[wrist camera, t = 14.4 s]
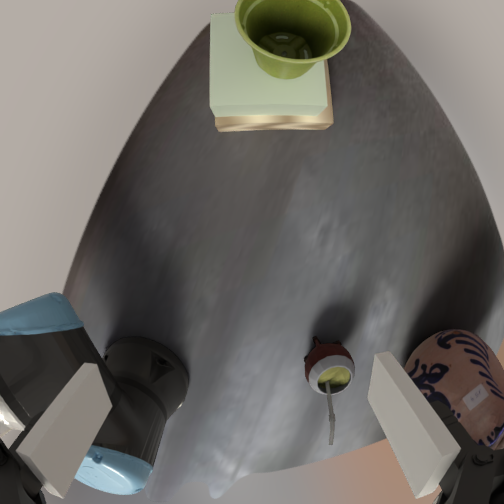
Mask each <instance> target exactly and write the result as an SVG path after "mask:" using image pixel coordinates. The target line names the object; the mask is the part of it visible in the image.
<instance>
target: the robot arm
mask: <svg viewBox="0 0 504 504" xmlns="http://www.w3.org/2000/svg"><path fill="white" fill-rule="evenodd" d="M83 326H84V323H83V322H82V321H80V320H79V318H78V316H77V315H76V313H75V311H74V309H73V308H72V306H71V304H70V302H69V301H68V299H67V298H66V297H65V296H64V295H62V294H60V293H55V292H53V293H49V294H46V295H43V296H40V297H38V298H35V299H32V300H30V301H27V302H25V303H22V304H19V305H17V306H14V307H12V308H9V309H7V310H5V311H2V312H0V504H46V501H45V498H44V494H43V493H42V491H41V490H40V489H41V487H42V486H44V487H45V488H46V489H47V490H48V491H49V493H51V494H53V495H56V496H58V497H61V498H64V497H65V495H66V493H67V491H68V489H69V487H70V485H71V483H72V481H73V479H74V478H75V479H77V480H79V481H80V482H82V483H84V484H86V485H89V486H91V487H93V488H96V489H98V490H101V491H105V492H108V493H113V494H121V495H128V494H135V493H137V492H139V491H141V490H142V489H143V488H144V487H145V485H146V483H147V480H148V478H149V475H150V474H151V472H152V471H153V466H154V462H155V458H156V455H157V451H158V448H159V444H160V441H161V438H162V434H163V431H164V427H165V424H166V421H167V420H168V418H169V417H170V416H171V415H172V414H173V413H174V412H175V411H176V410H177V409H178V408H179V407H180V406H181V405H182V403H183V402H184V400H185V397H186V394H187V391H188V385H189V381H188V375H187V372H186V370H185V368H184V366H183V364H182V363H181V361H180V360H179V359H178V358H177V356H176V355H175V354H174V353H172V352H171V351H170V350H169V349H167V348H166V347H165V346H163V345H161V344H159V343H157V342H155V341H153V340H150V339H146V338H142V337H126V338H122V339H120V340H118V341H116V342H114V343H113V344H112V345H111V346H110V347H109V349H108V350H107V351H106V352H105V354H104V356H103V358H101V356H100V354H99V353H98V351H97V349H96V348H95V346H94V344H93V343H92V341H91V339H90V337H89V336H88V334H87V332H86V330H85V329H84V327H83ZM367 399H368V401H369V403H370V405H371V407H372V409H373V411H374V413H375V415H376V417H377V419H378V421H379V423H380V425H381V427H382V429H383V431H384V433H385V435H386V437H387V439H388V441H389V443H390V445H391V447H392V449H393V451H394V453H395V455H396V457H397V460H398V462H399V464H400V466H401V468H402V470H403V472H404V474H405V476H406V479H407V481H408V483H409V485H410V487H411V489H412V492H413V494H414V496H415V498H416V499H417V498H420V497H422V496H425V495H428V494H430V493H432V492H434V490H435V489H436V488H437V486H438V485H440V486H441V489H442V491H441V492H440V494H439V495H438V496H437V498H436V499H435V501H434V502H433V504H435V503H436V502H437V503H436V504H504V448H503V449H498V450H493V449H491V448H490V447H488V446H485V445H477V444H476V443H475V441H474V440H473V439H472V437H471V436H470V435H469V433H468V432H467V431H466V429H465V428H464V427H463V426H462V424H461V423H460V422H458V419H457V418H456V416H454V414H453V413H452V411H451V410H450V409H449V407H448V406H446V405H445V404H443V403H442V402H440V401H438V400H437V401H434V402H431V403H428V401H427V400H426V398H425V397H424V396H423V394H422V393H421V392H420V390H419V389H418V388H417V386H416V385H415V384H414V382H413V381H412V380H411V378H410V377H409V376H408V374H407V373H406V372H405V371H404V369H403V368H402V367H401V365H400V364H399V363H398V361H397V360H396V359H395V358H394V356H393V355H392V354H391V352H390V351H388V352H382V353H377V354H375V357H374V363H373V370H372V375H371V381H370V387H369V392H368V397H367ZM12 429H18V430H21V431H22V432H21V433H20V435H19V436H18V438H17V439H16V440H15V441H14V443H13V444H12V445H11V447H10V448H9V449H8V448H7V447H6V446H5V444H4V443H3V441H2V440H1V437H2V436H4V435H5V434H6V433H8V432H9V431H11V430H12Z"/></svg>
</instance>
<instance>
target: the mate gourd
mask: <svg viewBox="0 0 504 504" xmlns="http://www.w3.org/2000/svg"><path fill="white" fill-rule="evenodd" d="M312 339H313V341H314V343H315V345H316V347H315V348H314V349H313V350H312V351H311V352H310V353H309V355H308V356H307V357H305V358H304V362H305V377H306V379H307V381H308V382H309V384H310V386H311V387H312V388H313V389H314V390H315V391H317V392H319V393H321V394H326V395H327V399H328V406H329V414H330V415H329V422H330V438H329V445H333V439H334V426H335V423H334V421H335V414H334V413H333V406H332V399H331V395H333V394H338V393H340V392H342V391H344V390H345V389H346V388H347V387H348V386H349V385H350V383H351V381H352V380H353V378H354V374H355V366H354V362H353V359H352V357H351V355H350V353H349V352H348V351H347V350H346V349H345V348H344V347H343V346H341V342H340V341H339V340H338V341H336V342H334V343H326V344H321V343H320V341H319V339H318V337H317V336H315V337H313V338H312Z"/></svg>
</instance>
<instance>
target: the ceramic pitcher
mask: <svg viewBox="0 0 504 504" xmlns="http://www.w3.org/2000/svg"><path fill="white" fill-rule="evenodd" d="M404 371H405V372H406V373H407V374H408V376H409V377H410V378H411V380H412V381H413V382H414V384H415V385H416V386H417V388H418V389H419V390H420V392H421V393H422V394H423V396H424V397H425V398H426V400H427V401H428V403H431V402H434V401H437V400H438V401H440V402H442V403H443V404H445V405H446V406H448V407H449V409H450V410H451V411H452V413H453V414H454V416H456V418H457V419H458V422H460V423H461V424H462V426H463V427H464V428H465V429H466V431H467V432H468V433H469V435H470V436H471V437H472V439H473V440H474V441H475V443H476V444H477V445H485V446H488V447H490V448H491V449H493V450H498V449H503V448H504V370H503V368H502V366H501V364H500V362H499V360H498V359H497V357H496V356H495V354H494V352H493V351H492V350H491V348H490V347H489V346H488V345H487V344H486V343H485V342H484V341H483V340H482V339H481V338H480V337H479V336H477V335H476V334H474V333H472V332H470V331H467V330H462V329H449V330H445V331H441V332H439V333H436V334H434V335H432V336H431V337H429V338H428V339H426V340H425V341H423V342H422V343H421V344H420V345H419V346H418V347H417V348H416V349H415V350H414V351H413V353H412V354H411V356H410V358H409V359H408V361H407V363H406V365H405V367H404Z"/></svg>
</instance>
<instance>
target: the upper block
mask: <svg viewBox="0 0 504 504" xmlns="http://www.w3.org/2000/svg"><path fill="white" fill-rule="evenodd" d="M276 38H277V39H279V38H284V39H288V38H289V37H287V36H277V37H276ZM304 53H305V59H308V55H307V51H306V50H304ZM282 55H283V56H286V55H287V53H286V52H282ZM327 106H328V105H327V91H326V79H325V68H324V60H323V61H320V62H317V63H316V64H315V65H314V66H313V67H312V68H311V69H310V70H308V71H307V72H306V73H305V74H303V75H302V76H300V77H298V78H294V79H279V78H275V77H272V76H270V75H269V74H267V73H266V72H265V71H263V70H262V69H261V68H260V67H259V66H258V64H257V62H256V59H255V56H254V53H253V50H252V47H251V46H250V45H249V44H247V42H246V41H245V40H244V39H243V38H242V36H241V35H240V33H239V32H238V30H237V27H236V24H235V18H234V13H219V14H211V25H210V108H211V110H212V112H213V114H214V115H215V117H226V116H254V115H293V116H318V115H319V114H320V113H321V112H322V111H323V110H324V109H325V108H326V107H327Z"/></svg>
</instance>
